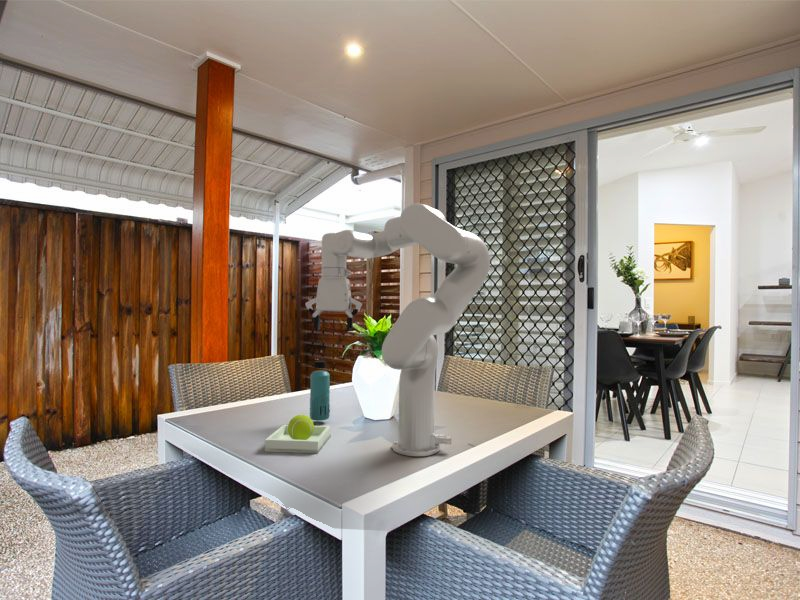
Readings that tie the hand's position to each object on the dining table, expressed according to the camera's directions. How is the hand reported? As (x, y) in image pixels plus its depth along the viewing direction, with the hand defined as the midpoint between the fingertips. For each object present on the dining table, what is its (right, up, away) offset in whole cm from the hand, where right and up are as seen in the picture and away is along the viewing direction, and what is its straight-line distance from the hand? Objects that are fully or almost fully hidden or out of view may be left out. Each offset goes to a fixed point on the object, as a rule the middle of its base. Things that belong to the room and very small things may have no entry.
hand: (333, 330), depth 130 cm
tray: (-7, -30, -13) cm, 34 cm away
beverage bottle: (-6, -31, +8) cm, 32 cm away
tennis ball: (-7, -30, -13) cm, 33 cm away
